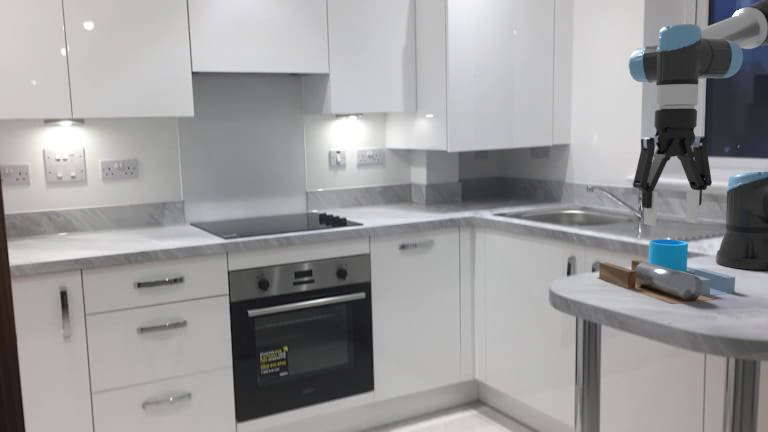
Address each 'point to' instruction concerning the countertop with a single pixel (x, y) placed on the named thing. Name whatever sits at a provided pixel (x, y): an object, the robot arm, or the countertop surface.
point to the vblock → (715, 282)
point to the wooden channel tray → (628, 281)
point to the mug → (669, 254)
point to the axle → (668, 281)
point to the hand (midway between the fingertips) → (671, 223)
